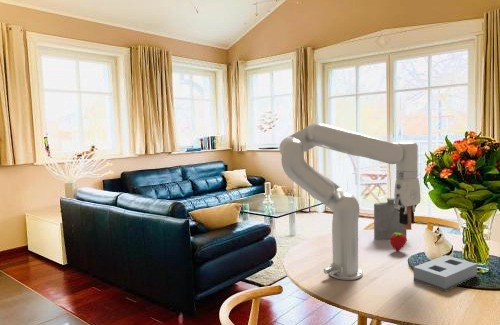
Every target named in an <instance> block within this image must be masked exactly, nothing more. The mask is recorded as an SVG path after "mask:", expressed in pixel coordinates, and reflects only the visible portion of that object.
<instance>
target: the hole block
mask: <svg viewBox="0 0 500 325" xmlns="http://www.w3.org/2000/svg"><path fill="white" fill-rule="evenodd" d="M477 274H478V263H475V262H471V261H468V260H465V259H460V258H457V257H453V256H450V255H446V254H444V255H441V256H439V257H437V258H434V259H431V260H429V261H426V262H423V263H420V264H418V265H415V266H413V281H414V282H417V283H421V284H423V285H426V286H428V287H432V288H434V289H438V290H440V291H442V292H447V291H450V290H452V289H453V288H454V289H455V287H458V286H459V285H458V284H459V283H461V282H464V281H466V280H468V279H471V278H473V277H475V276H477ZM471 280H472V279H471ZM457 285H458V286H457Z"/></svg>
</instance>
